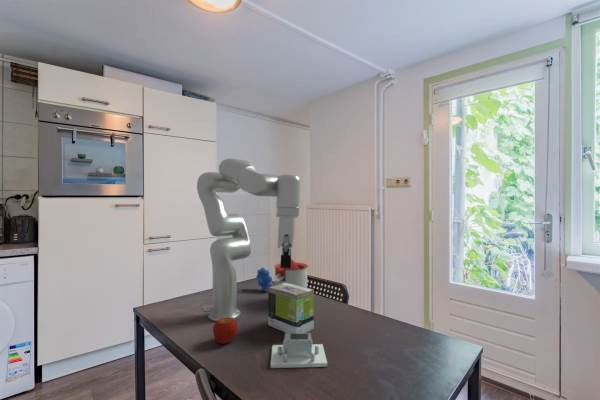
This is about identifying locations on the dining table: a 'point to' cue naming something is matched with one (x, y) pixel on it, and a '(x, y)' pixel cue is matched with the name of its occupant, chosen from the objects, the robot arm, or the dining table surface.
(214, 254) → the robot arm
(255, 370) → the dining table surface
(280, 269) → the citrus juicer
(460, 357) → the dining table surface
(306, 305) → the tea box
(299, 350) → the block
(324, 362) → the white peg board
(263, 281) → the grapes
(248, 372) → the dining table surface
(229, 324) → the apple
